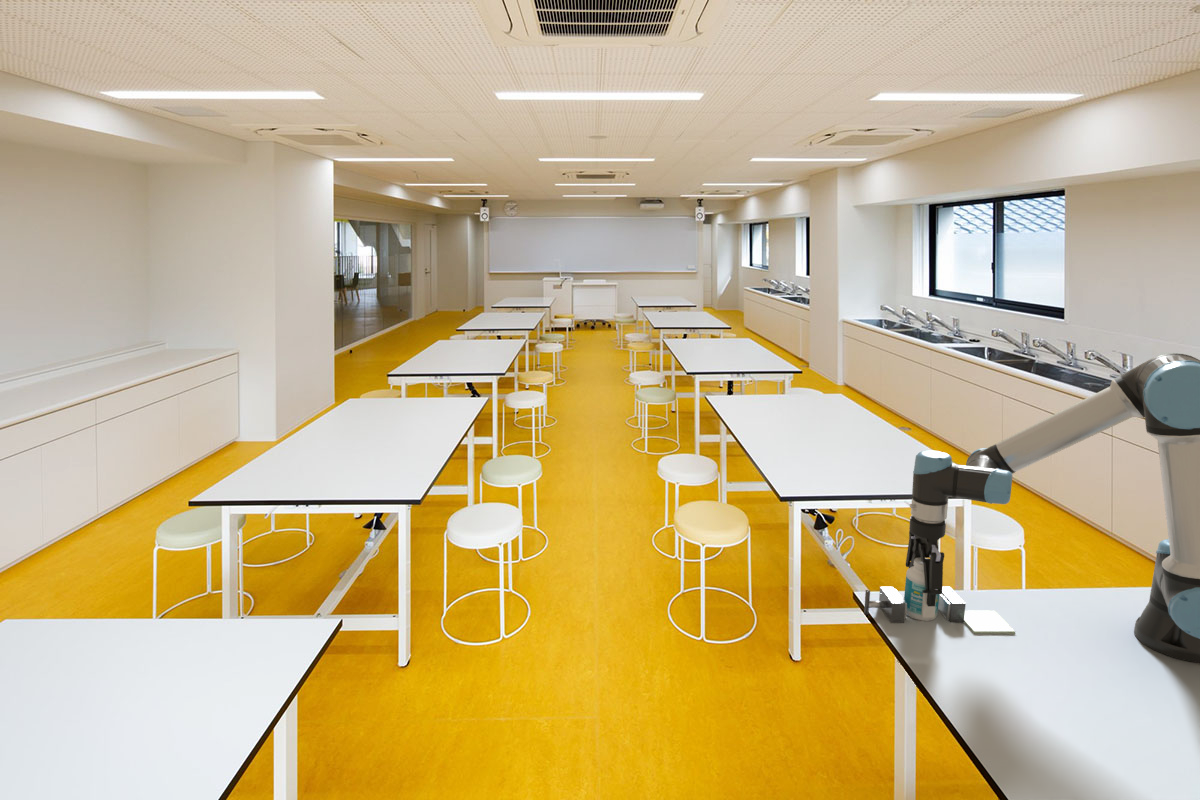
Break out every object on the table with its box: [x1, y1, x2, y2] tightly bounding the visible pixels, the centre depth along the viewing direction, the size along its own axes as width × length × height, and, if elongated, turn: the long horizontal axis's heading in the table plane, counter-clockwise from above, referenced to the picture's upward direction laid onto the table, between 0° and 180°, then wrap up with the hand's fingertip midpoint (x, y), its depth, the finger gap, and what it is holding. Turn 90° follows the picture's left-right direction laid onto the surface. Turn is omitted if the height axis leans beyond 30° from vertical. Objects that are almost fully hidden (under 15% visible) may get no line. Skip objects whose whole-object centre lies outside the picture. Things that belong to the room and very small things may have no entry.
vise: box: [863, 586, 966, 624], centre depth 162 cm, size 21×8×7 cm, turn 87°
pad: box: [963, 610, 1016, 635], centre depth 158 cm, size 9×9×1 cm
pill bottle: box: [903, 558, 939, 622], centre depth 161 cm, size 8×7×14 cm
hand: (920, 607), depth 162 cm, fingers closed on pill bottle, 7 cm apart
